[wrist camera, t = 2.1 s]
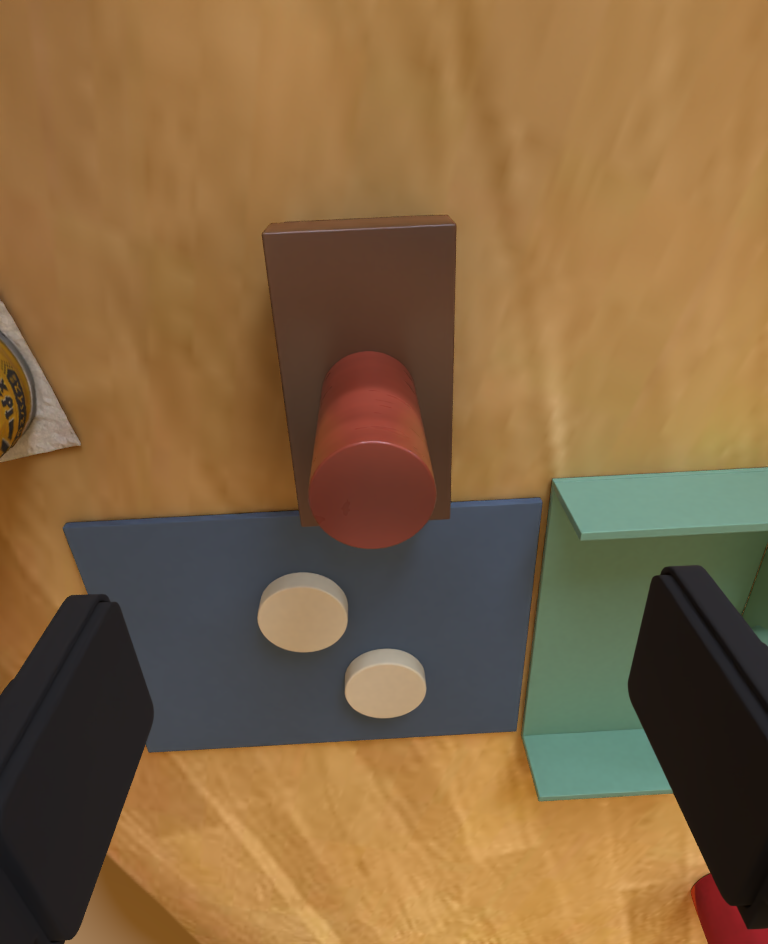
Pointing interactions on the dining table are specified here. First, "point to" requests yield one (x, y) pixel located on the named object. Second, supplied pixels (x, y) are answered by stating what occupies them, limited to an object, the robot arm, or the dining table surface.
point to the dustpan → (626, 612)
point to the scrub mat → (323, 672)
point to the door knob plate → (366, 370)
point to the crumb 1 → (303, 612)
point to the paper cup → (722, 917)
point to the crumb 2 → (385, 683)
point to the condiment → (27, 400)
